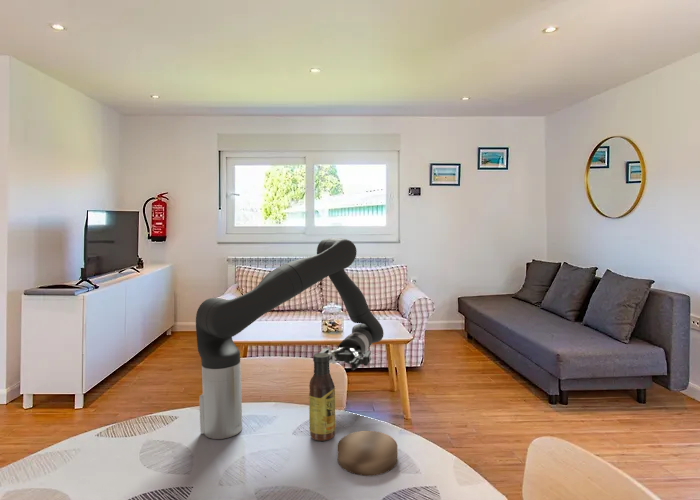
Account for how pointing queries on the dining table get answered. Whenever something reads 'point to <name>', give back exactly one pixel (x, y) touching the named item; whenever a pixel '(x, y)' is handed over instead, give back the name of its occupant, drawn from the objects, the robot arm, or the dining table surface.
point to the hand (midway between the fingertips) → (337, 365)
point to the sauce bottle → (322, 400)
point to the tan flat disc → (367, 453)
